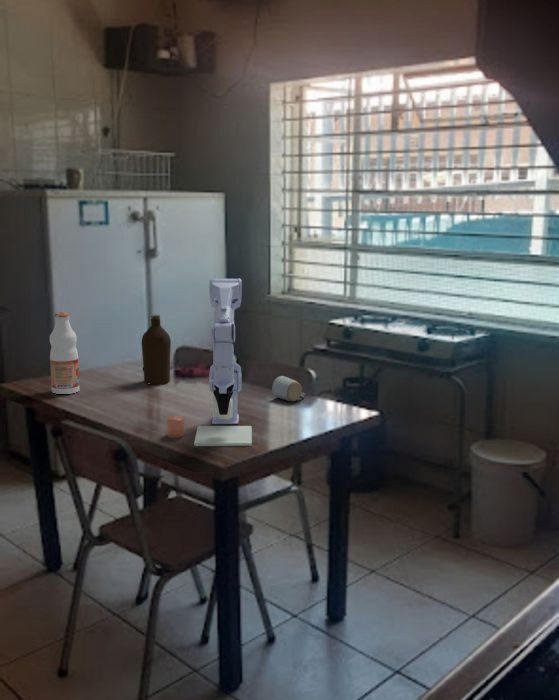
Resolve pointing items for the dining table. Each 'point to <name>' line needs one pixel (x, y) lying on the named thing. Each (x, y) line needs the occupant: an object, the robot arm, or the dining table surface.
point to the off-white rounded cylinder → (229, 414)
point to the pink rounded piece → (175, 426)
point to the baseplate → (223, 436)
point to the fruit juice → (64, 357)
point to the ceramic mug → (287, 389)
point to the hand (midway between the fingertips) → (223, 411)
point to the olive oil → (156, 353)
